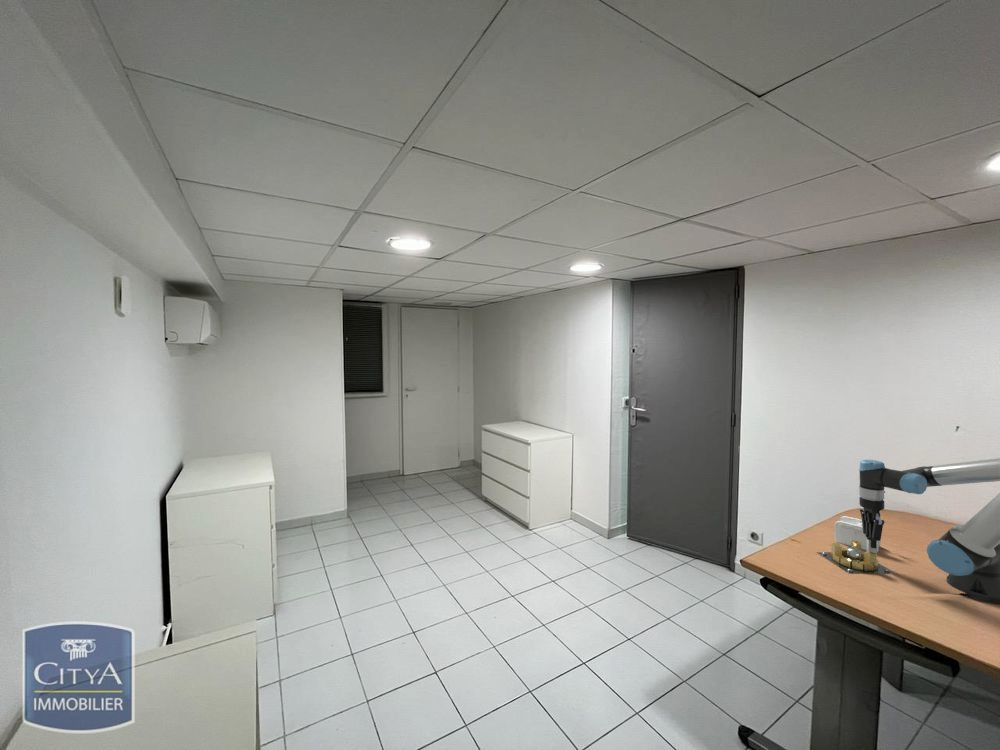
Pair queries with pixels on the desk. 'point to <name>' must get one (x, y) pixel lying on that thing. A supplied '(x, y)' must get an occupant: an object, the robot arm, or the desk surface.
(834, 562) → the flange
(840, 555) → the ring nut
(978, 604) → the desk surface
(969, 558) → the robot arm
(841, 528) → the cable organizer
